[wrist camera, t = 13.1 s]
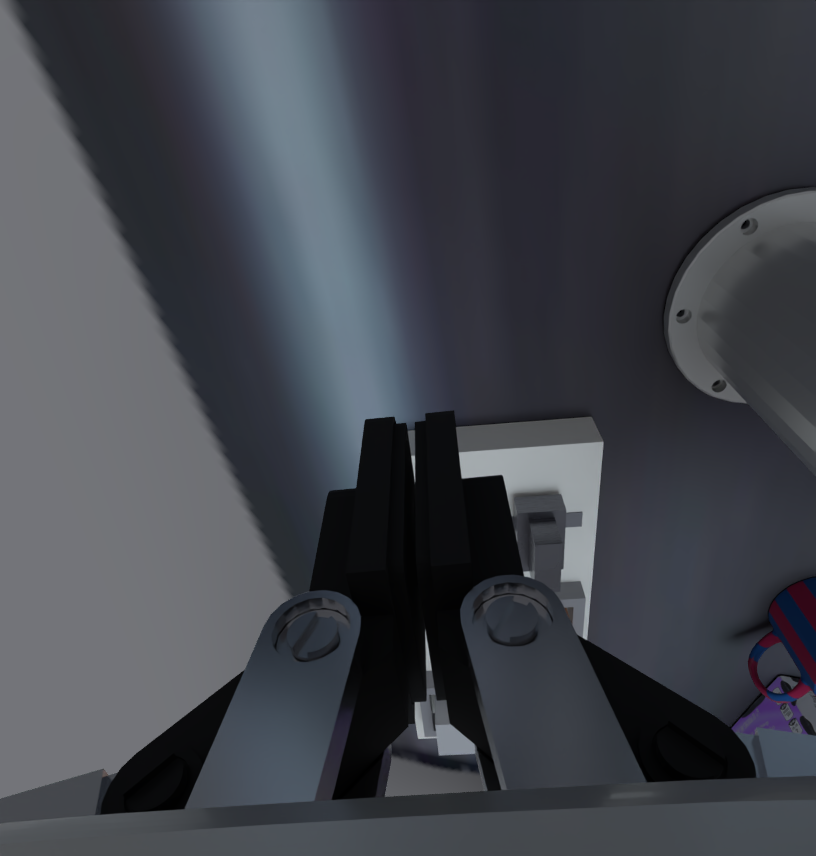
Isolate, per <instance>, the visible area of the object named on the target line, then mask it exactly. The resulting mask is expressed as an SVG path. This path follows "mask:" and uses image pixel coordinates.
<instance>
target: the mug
mask: <svg viewBox="0 0 816 856" xmlns="http://www.w3.org/2000/svg"><path fill="white" fill-rule="evenodd" d="M768 616H769V621H770V623H771V625H772V627H773V631H771V632H769V633H768V634H767V635H765V636H764V637H763V638H762V639H761V640H760V641H759V642H758V643H756V645H755V646H754V647H753V649H752V651H751V653H750V655H749V659H748V668H749V672H750V675H751V678H752V680H753V682H754V684H755V686H756V687H757V688H758V690H759V691H760V692H761V693H762V694H763V695H764V696H765V697H767V698H768V699H770V700H771V701H774V702H777V703H789V702H793V701H795V700H797V699H799V698H801V697H802V696H804V695H805V694H807V693H808V692H809V691H813V693H814V695H815V696H816V577H814V578H810V579H806V580H803V581H800V582H798V583H796V584H793V585H791V586H790V587H788V588H787V589H785V590H784V591H782V592H781V593H780V594H779V595H778V596H777V597H776V598H775V599H774V601H773V602H772V604H771V606H770V609H769V615H768ZM779 642H782V643H783V645H784V646H785V648H786V650H787V651H788V653H789V655H790V656H791V658H792V659H793V661H794V663H795V664H796V666H797V668H798V669H799V671H800V673H801V678H800V679H799V682H798V684H797V685H796V686H795V687H794V688H793V689H792V690H790V691H788V692H786V693H782V694H780V693H774V692H771V691H769V690H768V689H766V688H765V687H764V686H763V684H762V683H761V681H760V679H759V677H758V674H757V664H758V660H759V659H760V657H761V655H762V654H763V653H764V651H766V650H767V649H768V648H769V647H771V646H772V645H774V644H776V643H779Z"/></svg>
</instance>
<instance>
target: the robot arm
mask: <svg viewBox="0 0 816 856" xmlns="http://www.w3.org/2000/svg"><path fill="white" fill-rule="evenodd" d="M745 221H746V223H745V225H744V226H743V227H741V226H742V224H743V222H745ZM680 310H682V311H681V313H679V314H677V313H678V312H679V311H680ZM664 336H665V340H666V344H667V348H668V352H669V354H670V356H671V357H672V359H673V361H674V363H675V365H676V367H677V368H678V369H679V370H680V371H681V373H682V374H683V375H684V376H685V378H686V379H687V380H688V381H690V382H691V383H692V384H693V385H694V386H695V387H697V388H698V389H699V390H701V391H702V392H704V393H706V394H708V395H710V396H712V397H714V398H718V399H721V400H725V401H728V402H734V403H745V404H749V406H750V407H751V408H752V409H753V410H754V411H755V412H756V413H757V414H758V415H759V416H760V417H761V418H762V420H763V421H764V422H765V423H766V424H767V425H768V426H769V427H770V428H771V429H772V430H773V431H774V432H775V433H776V435H777V436H778V437H779V438H780V439H781V440H782V441H783V442H784V443H785V444H786V445H787V446H788V447H789V449H790V450H791V451H792V452H793V453H794V454H795V455H796V456H797V457H798V458H799V459H800V460H801V461H802V462H803V464H804V465H805V466H806V467H807V468H808V469H809V470H810V471H811V472H812V473H813V474H814V475H815V476H816V187H809V188H799V189H789V190H785V191H782V192H778V193H775V194H771V195H768V196H765V197H762V198H760V199H758V200H756V201H754V202H752V203H749V204H747V205H745V206H743V207H741V208H740V209H738V210H737V211H735V212H734V213H732V214H731V215H729V216H728V217H726V218H725V219H723V220H722V221H720V222H719V223H718V224H717V225H716V226H715V227H714V228H713V229H711V230H710V231H709V232H708V233H707V234H706V235H705V236H704V237H703V238H702V239H701V240H700V241H699V242H698V243H697V245H696V246H695V247H694V248H693V250H692V251H691V252H690V253H689V254H688V256H687V257H686V259H685V260H684V262H683V264H682V265H681V267H680V269H679V271H678V272H677V274H676V276H675V278H674V280H673V283H672V286H671V288H670V291H669V293H668V296H667V301H666V306H665V312H664ZM425 417H426V421H421V422H415V479H414V472H413V465H412V458H411V451H410V444H409V437H408V430H407V425H406V423H401V424H396V421H395V418H394V417H385V418H375V419H366V420H365V424H364V432H363V439H362V447H361V455H360V463H359V471H358V479H357V487H356V488H355V489H344V490H333V491H330V492H329V493H328V496H327V501H326V506H325V511H324V516H323V522H322V527H321V532H320V538H319V543H318V548H317V553H316V559H315V564H314V569H313V575H312V580H311V585H310V590H309V592H306V593H303V594H300V595H297V596H295V597H293V598H291V599H290V600H288V601H286V602H284V603H283V604H281V605H280V606H279V607H278V608H277V609H276V610H275V611H274V612H273V613H272V614H271V615H270V617H269V619H268V620H267V622H266V623H265V625H264V627H263V629H262V631H261V634H260V636H259V638H258V640H257V643H256V645H255V647H254V650H253V652H252V654H251V657H250V659H249V661H248V664H247V666H246V668H245V670H244V671H243V672H241V673H240V674H239V675H237V676H236V677H235V678H233V679H232V680H231V681H230V682H228V683H227V684H226V685H224V686H223V687H222V688H221V689H219V690H218V691H217V692H215V693H214V694H213V695H211V696H210V697H209V698H208V699H206V700H205V701H204V702H203V703H201V704H200V705H198V706H197V707H196V708H195V709H193V710H192V711H191V712H190V713H188V714H187V715H186V716H184V717H183V718H182V719H180V720H179V721H178V722H177V723H175V724H174V725H173V726H172V727H170V728H169V729H167V730H166V731H165V732H164V733H162V734H161V735H160V736H158V737H157V738H156V739H155V740H153V741H152V742H151V743H149V744H148V745H147V746H146V747H144V748H143V749H142V750H140V751H139V752H138V753H136V754H135V755H134V756H133V757H132V758H131V759H130V760H129V761H128V762H127V763H126V764H125V765H124V766H123V767H122V768H121V769H120V770H119V772H118V773H115V774H112V775H108V774H107V773H106V771H105V770H104V769H101V770H97V771H94V772H90V773H87V774H84V775H80V776H77V777H74V778H70V779H66V780H63V781H59V782H56V783H53V784H49V785H46V786H42V787H39V788H35V789H32V790H28V791H25V792H21V793H18V794H15V795H11V796H8V797H4V798H1V799H0V856H816V736H813V735H807V734H800V733H793V732H786V731H779V730H772V729H766V728H759V727H756V731H755V734H754V735H751V734H744V733H738V732H734V731H733V730H732V729H731V728H730V727H728V726H727V725H726V724H724V723H723V722H722V721H720V720H719V719H718V718H716V717H715V716H714V715H712V714H710V713H709V712H707V711H705V710H704V709H702V708H700V707H698V706H697V705H695V704H693V703H692V702H690V701H688V700H687V699H685V698H683V697H682V696H680V695H678V694H677V693H675V692H673V691H672V690H670V689H668V688H666V687H665V686H663V685H661V684H660V683H658V682H656V681H655V680H653V679H651V678H650V677H648V676H646V675H645V674H643V673H641V672H640V671H638V670H636V669H635V668H633V667H631V666H629V665H628V664H626V663H624V662H623V661H621V660H619V659H618V658H616V657H614V656H613V655H611V654H609V653H608V652H606V651H604V650H603V649H601V648H599V647H598V646H596V645H594V644H592V643H591V642H589V641H587V640H586V639H584V638H582V637H581V636H579V635H577V634H576V632H575V629H574V627H573V625H572V623H571V621H570V619H569V617H568V615H567V613H566V610H565V608H564V606H563V604H562V602H561V601H560V599H559V598H558V597H557V595H556V594H555V592H554V591H553V590H551V589H550V588H549V587H547V586H546V585H545V584H543V583H542V582H539V581H537V580H534V579H532V578H530V577H525V576H524V573H523V568H522V563H521V558H520V554H519V549H518V544H517V540H516V535H515V530H514V525H513V521H512V516H511V511H510V506H509V502H508V497H507V492H506V487H505V483H504V479H503V476H502V475H494V476H483V477H473V478H462V476H461V467H460V458H459V450H458V441H457V432H456V423H455V415H454V411H445V412H435V413H426V414H425ZM425 630H426V637H427V643H428V649H429V656H430V662H431V668H432V675H433V681H434V688H435V694H436V700H437V701H442V700H446V702H447V709H448V716H449V723H450V724H451V725H452V726H453V727H454V728H455V729H457V730H458V731H459V732H460V733H461V734H463V735H464V736H465V737H466V738H468V739H469V740H470V741H471V742H472V743H474V745H475V754H476V759H477V763H478V767H479V771H480V775H481V779H482V783H483V787H484V791H481V792H466V793H465V792H463V793H447V794H429V795H411V796H394V797H385V792H386V787H387V781H388V776H389V770H390V764H391V743H392V742H393V741H394V740H395V739H396V738H397V737H398V736H399V735H400V734H401V733H402V732H403V731H404V730H405V729H406V728H407V727H408V724H415V702H426V700H427V683H426V638H425Z"/></svg>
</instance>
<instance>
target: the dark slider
mask: <svg viewBox="0 0 816 856" xmlns="http://www.w3.org/2000/svg"><path fill="white" fill-rule="evenodd" d="M565 528H566V507H565V504H564V501H563V498H562V495H561V494H555V495H540V496H525V497H514V530H515V535H516V540H517V544H518V549H519V554H520V558H521V563H522V568H523V572H527V571H530V576H531V578H532V579H534V580H537V581H539V582H542V583H543V584H545V585H546V586H547V587H549V588H550V589H551V590H553V591H554V592H560V587H561V569H564V549H565Z"/></svg>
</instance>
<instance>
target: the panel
mask: <svg viewBox="0 0 816 856" xmlns="http://www.w3.org/2000/svg"><path fill="white" fill-rule="evenodd" d="M456 432H457V441H458V450H459V458H460V467H461V476H462V478H473V477H483V476H494V475H502V476H503V479H504V483H505V487H506V492H507V497H508V502H509V506H510V511H511V516H512V521H513V525H514V497H525V496H540V495H555V494H561V495H562V498H563V501H564V504H565V507H566V528H565V549H564V569H561V587H560V592H555V594H556V595H557V597H558V598H559V599H560V601H561V602H562V604H563V606H564V608H567V611H568V615H569V619H570V621H571V623H572V625H573V627H574V629H575V632H576V634H577V635H579V636H581V637H582V638H584V639H586V640H587V634H588V622H589V610H590V598H591V586H592V574H593V562H594V550H595V538H596V526H597V514H598V502H599V490H600V478H601V466H602V454H603V440H602V438H601V435H600V433H599V431H598V429H597V427H596V425H595V423H594V421H593V419H592V417H581V418H568V419H554V420H541V421H528V422H515V423H502V424H489V425H476V426H462V427H456ZM408 437H409V444H410V451H411V458H412V465H413V472H414V479H415V430H410V431H408ZM523 573H524V576H525V577H530V578H531V576H530V571H527V572H523ZM425 638H426V683H427V700H426V702H415V721H416V728H417V735H418V739H424V738H437V735H436V726H435V697H436V694H435V688H434V681H433V675H432V668H431V662H430V656H429V649H428V643H427V637H426V630H425Z"/></svg>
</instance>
